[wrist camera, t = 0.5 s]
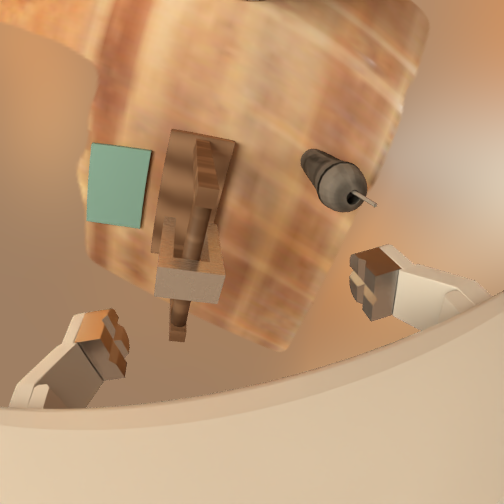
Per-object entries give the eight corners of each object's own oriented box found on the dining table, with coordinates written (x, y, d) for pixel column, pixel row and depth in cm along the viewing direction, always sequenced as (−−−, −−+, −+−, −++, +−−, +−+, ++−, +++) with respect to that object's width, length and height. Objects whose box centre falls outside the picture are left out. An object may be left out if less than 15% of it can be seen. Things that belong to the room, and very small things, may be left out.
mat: (92, 142, 42) (91, 143, 41) (151, 150, 45) (151, 151, 44) (87, 219, 49) (86, 220, 48) (140, 226, 52) (139, 228, 51)
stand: (171, 128, 43) (155, 174, 26) (234, 140, 46) (262, 193, 29) (151, 247, 54) (138, 339, 37) (204, 255, 57) (213, 346, 40)
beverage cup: (285, 171, 51) (331, 229, 34) (305, 133, 48) (364, 175, 31) (319, 186, 54) (374, 246, 37) (339, 151, 50) (404, 199, 34)
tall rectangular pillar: (164, 216, 39) (157, 266, 30) (216, 224, 41) (225, 275, 32) (160, 242, 41) (154, 296, 32) (210, 249, 43) (217, 303, 34)
